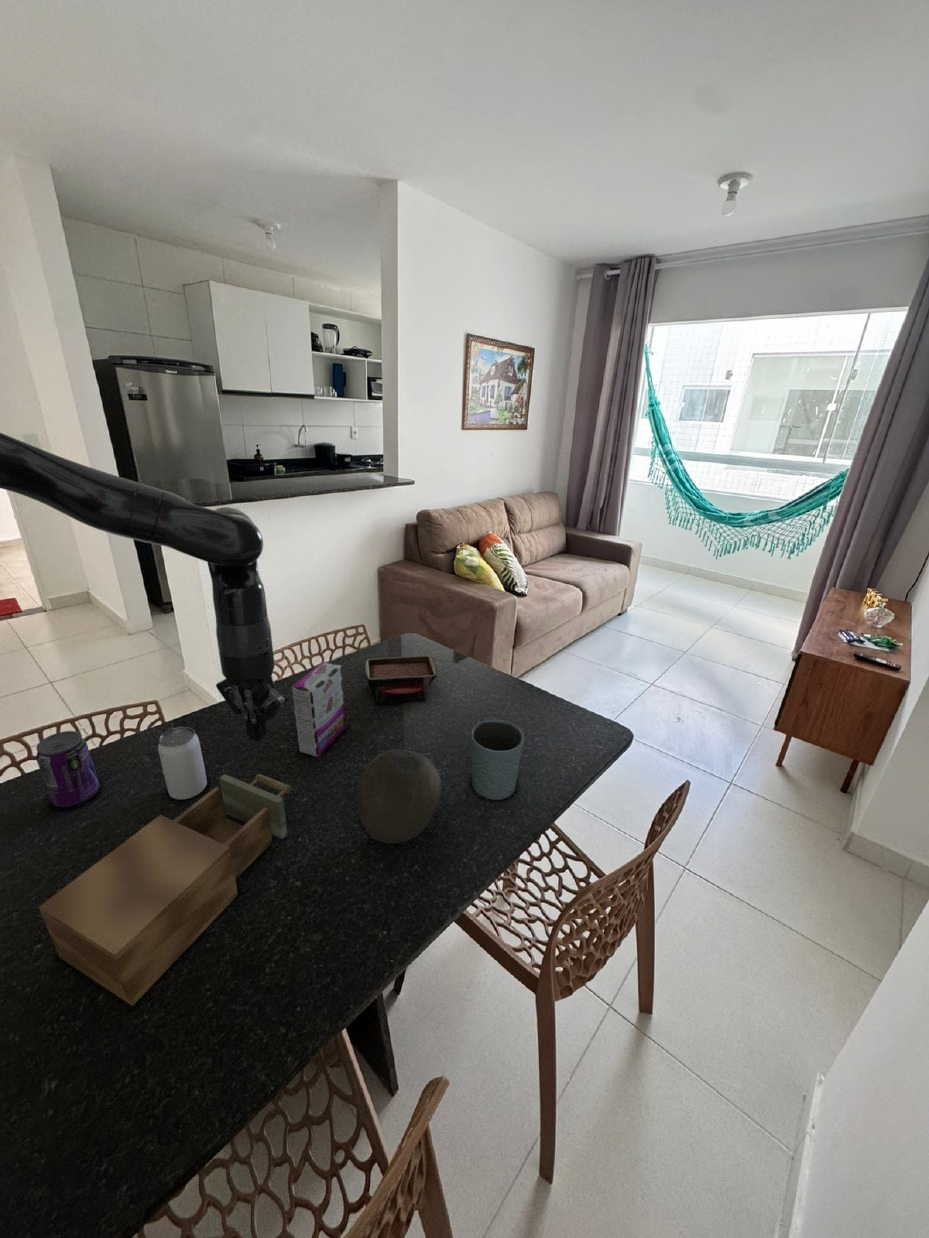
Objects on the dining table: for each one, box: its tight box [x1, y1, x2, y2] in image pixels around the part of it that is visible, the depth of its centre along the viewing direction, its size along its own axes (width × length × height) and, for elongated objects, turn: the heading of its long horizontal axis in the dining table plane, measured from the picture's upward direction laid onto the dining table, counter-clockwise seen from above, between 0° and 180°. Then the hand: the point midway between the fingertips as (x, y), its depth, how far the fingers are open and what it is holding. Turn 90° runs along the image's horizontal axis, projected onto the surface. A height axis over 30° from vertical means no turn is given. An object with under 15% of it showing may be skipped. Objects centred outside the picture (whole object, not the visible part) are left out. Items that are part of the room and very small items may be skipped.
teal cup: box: [470, 719, 525, 801], centre depth 99 cm, size 10×10×12 cm
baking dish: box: [363, 654, 438, 706], centre depth 129 cm, size 14×18×10 cm
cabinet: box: [38, 814, 239, 1007], centre depth 70 cm, size 17×14×10 cm
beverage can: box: [35, 730, 100, 808], centre depth 90 cm, size 7×7×12 cm
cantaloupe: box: [355, 748, 443, 845], centre depth 87 cm, size 14×14×15 cm
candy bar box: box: [291, 661, 347, 758], centre depth 108 cm, size 11×5×16 cm, turn 161°
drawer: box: [172, 773, 292, 881], centre depth 82 cm, size 20×13×8 cm, turn 157°
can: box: [157, 726, 208, 801], centre depth 93 cm, size 6×6×12 cm
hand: (257, 737), depth 84 cm, fingers closed
